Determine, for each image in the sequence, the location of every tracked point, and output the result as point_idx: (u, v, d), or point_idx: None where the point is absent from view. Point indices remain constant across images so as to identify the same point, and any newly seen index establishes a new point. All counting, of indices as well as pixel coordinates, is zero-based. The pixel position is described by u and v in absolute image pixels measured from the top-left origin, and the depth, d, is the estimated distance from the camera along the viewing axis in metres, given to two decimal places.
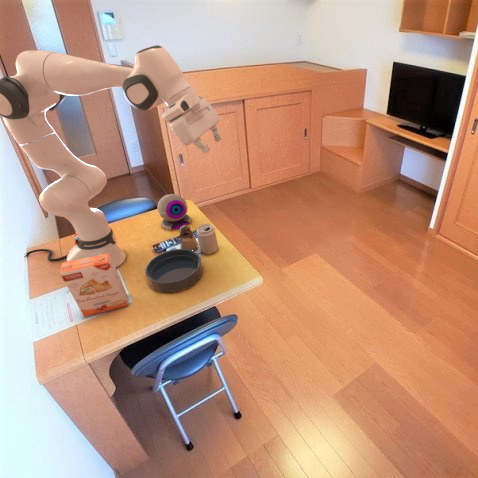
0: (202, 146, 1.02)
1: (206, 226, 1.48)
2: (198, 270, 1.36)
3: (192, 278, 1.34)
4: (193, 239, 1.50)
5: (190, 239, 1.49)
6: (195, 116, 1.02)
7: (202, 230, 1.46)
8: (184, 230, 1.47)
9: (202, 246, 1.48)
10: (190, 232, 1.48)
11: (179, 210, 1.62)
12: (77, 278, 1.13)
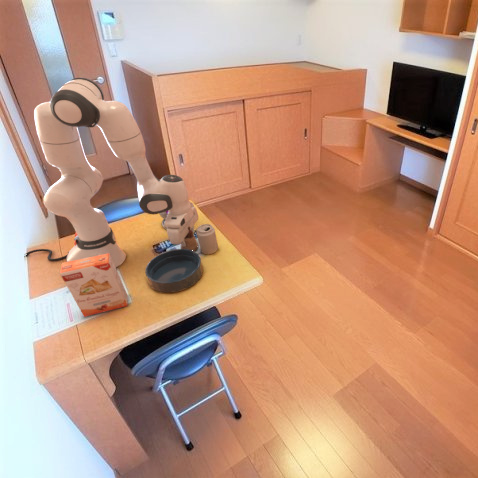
0: (183, 243, 1.46)
1: (206, 226, 1.48)
2: (198, 270, 1.36)
3: (192, 278, 1.34)
4: (193, 239, 1.50)
5: (190, 239, 1.49)
6: (185, 223, 1.44)
7: (202, 230, 1.46)
8: None
9: (202, 246, 1.48)
10: (190, 232, 1.48)
11: None
12: (77, 278, 1.13)
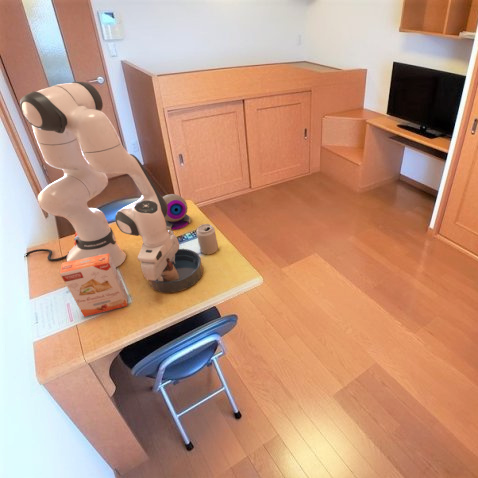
0: (159, 278, 1.28)
1: (206, 226, 1.48)
2: (198, 270, 1.36)
3: (192, 278, 1.34)
4: (173, 271, 1.33)
5: (170, 272, 1.31)
6: (162, 255, 1.27)
7: (202, 230, 1.46)
8: None
9: (202, 246, 1.48)
10: (169, 264, 1.30)
11: (179, 210, 1.62)
12: (77, 278, 1.13)
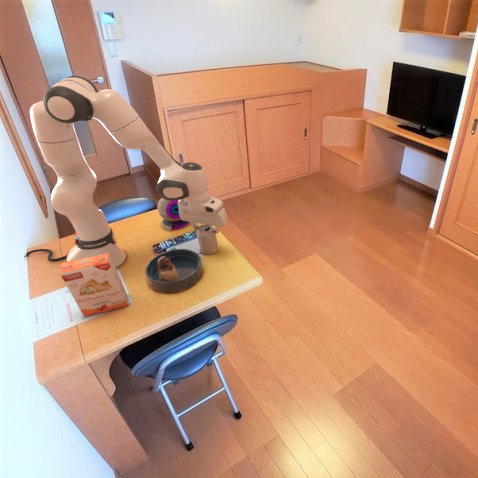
0: (218, 228, 1.45)
1: (206, 226, 1.48)
2: (198, 270, 1.36)
3: (192, 278, 1.34)
4: (173, 271, 1.33)
5: (170, 272, 1.31)
6: None
7: (202, 230, 1.46)
8: (163, 262, 1.29)
9: (202, 246, 1.48)
10: (169, 264, 1.30)
11: None
12: (77, 278, 1.13)
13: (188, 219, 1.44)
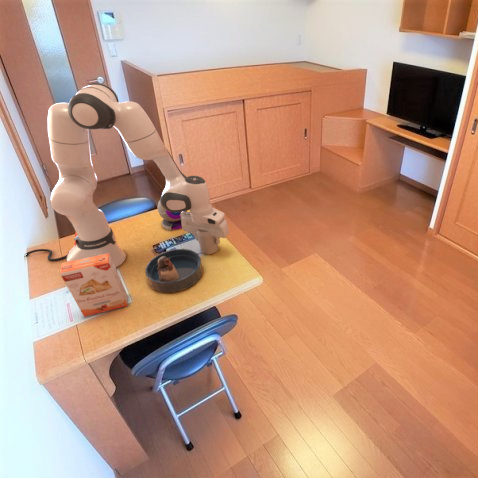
0: None
1: None
2: (198, 270, 1.36)
3: (192, 278, 1.34)
4: (173, 271, 1.33)
5: (170, 272, 1.31)
6: None
7: None
8: (163, 262, 1.29)
9: (202, 246, 1.48)
10: (169, 264, 1.30)
11: None
12: (77, 278, 1.13)
13: (190, 230, 1.47)
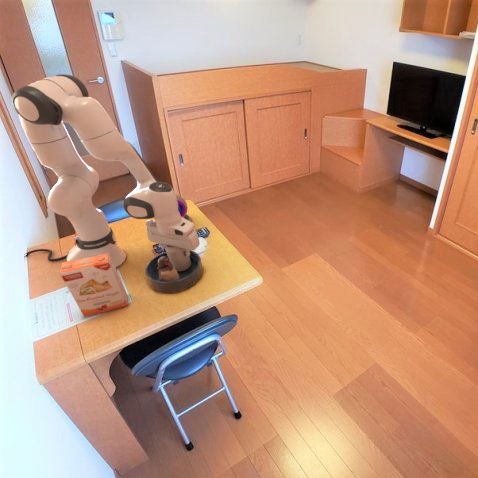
0: (189, 251, 1.37)
1: None
2: (198, 270, 1.36)
3: (192, 278, 1.34)
4: (173, 271, 1.33)
5: (170, 272, 1.31)
6: None
7: (171, 246, 1.35)
8: (163, 262, 1.29)
9: (172, 263, 1.37)
10: (169, 264, 1.30)
11: (179, 210, 1.62)
12: (77, 278, 1.13)
13: (157, 240, 1.35)
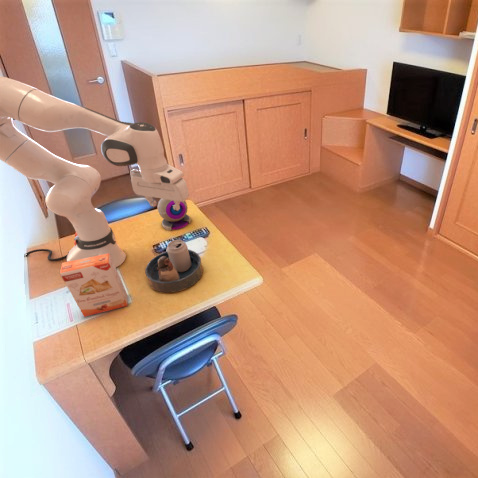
0: (178, 204, 1.24)
1: (177, 242, 1.38)
2: (198, 270, 1.36)
3: (192, 278, 1.34)
4: (173, 271, 1.33)
5: (170, 272, 1.31)
6: None
7: (173, 247, 1.35)
8: (163, 262, 1.29)
9: (173, 264, 1.38)
10: (169, 264, 1.30)
11: (179, 210, 1.62)
12: (77, 278, 1.13)
13: (143, 193, 1.22)
